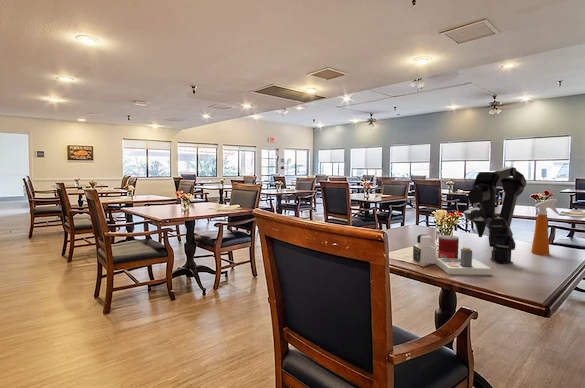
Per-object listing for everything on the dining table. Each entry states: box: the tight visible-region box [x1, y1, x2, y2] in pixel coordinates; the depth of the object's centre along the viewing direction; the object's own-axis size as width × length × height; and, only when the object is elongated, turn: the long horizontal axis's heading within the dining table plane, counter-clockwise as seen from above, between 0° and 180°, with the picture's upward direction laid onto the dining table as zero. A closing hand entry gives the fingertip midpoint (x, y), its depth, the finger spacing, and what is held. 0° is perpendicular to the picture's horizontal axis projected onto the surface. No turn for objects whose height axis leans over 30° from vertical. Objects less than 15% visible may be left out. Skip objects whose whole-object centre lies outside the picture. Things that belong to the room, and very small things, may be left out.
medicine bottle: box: [412, 233, 437, 265], centre depth 148 cm, size 7×7×12 cm
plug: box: [460, 246, 473, 267], centre depth 134 cm, size 3×3×10 cm
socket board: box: [435, 257, 492, 276], centre depth 138 cm, size 16×14×3 cm
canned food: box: [437, 234, 460, 259], centre depth 150 cm, size 8×8×11 cm
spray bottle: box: [531, 198, 561, 256], centre depth 161 cm, size 7×11×26 cm, turn 72°
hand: (485, 239), depth 138 cm, fingers open, 9 cm apart
